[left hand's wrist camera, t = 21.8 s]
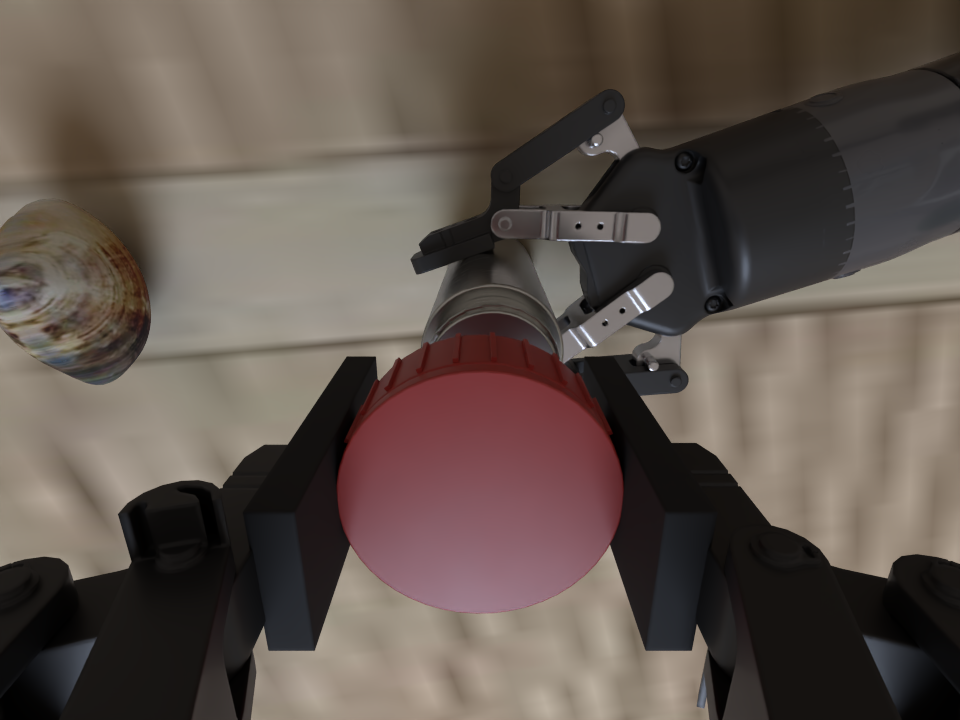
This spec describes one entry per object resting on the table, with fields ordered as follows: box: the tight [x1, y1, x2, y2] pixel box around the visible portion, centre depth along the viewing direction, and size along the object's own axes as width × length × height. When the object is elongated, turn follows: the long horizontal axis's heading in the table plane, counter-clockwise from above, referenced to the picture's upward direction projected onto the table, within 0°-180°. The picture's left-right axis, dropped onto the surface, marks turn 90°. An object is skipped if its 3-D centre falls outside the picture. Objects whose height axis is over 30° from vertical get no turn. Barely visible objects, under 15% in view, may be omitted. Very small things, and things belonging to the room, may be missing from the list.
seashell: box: [0, 199, 151, 385], centre depth 27 cm, size 10×6×8 cm, turn 11°
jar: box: [421, 239, 564, 363], centre depth 24 cm, size 5×5×16 cm
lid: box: [336, 332, 624, 613], centre depth 11 cm, size 6×6×2 cm
